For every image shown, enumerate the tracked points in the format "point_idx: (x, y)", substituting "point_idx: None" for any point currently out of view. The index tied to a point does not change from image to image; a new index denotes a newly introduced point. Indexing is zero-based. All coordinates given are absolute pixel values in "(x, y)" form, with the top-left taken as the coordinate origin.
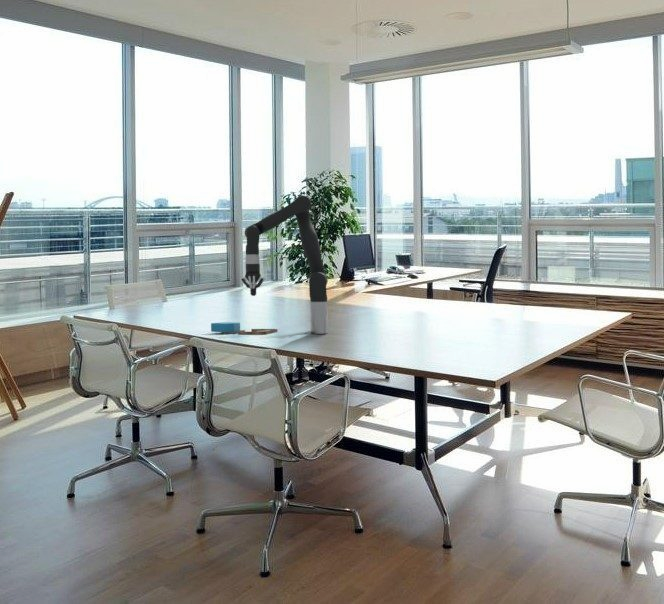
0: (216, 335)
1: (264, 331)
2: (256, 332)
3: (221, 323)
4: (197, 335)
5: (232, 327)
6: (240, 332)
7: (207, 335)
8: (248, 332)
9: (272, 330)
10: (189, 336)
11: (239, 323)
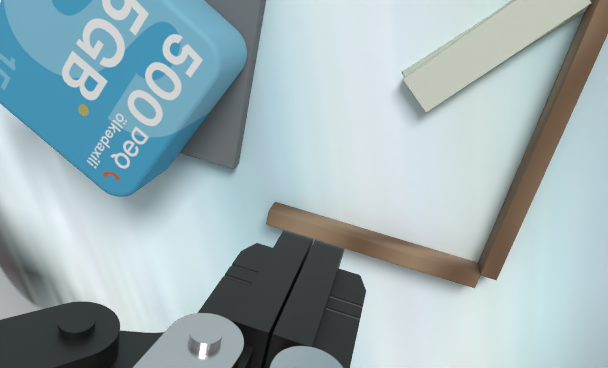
0: (138, 242)
1: (478, 76)
2: (414, 266)
3: (78, 136)
4: (19, 210)
5: (186, 132)
6: (284, 227)
7: (80, 227)
8: (348, 246)
9: (563, 128)
10: (5, 269)
11: (219, 76)
